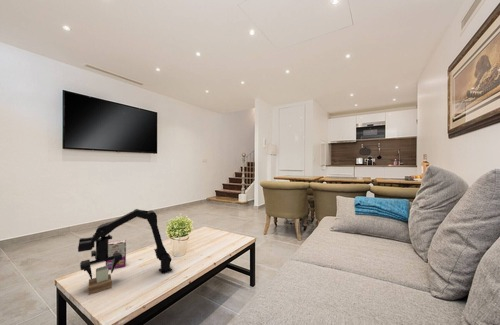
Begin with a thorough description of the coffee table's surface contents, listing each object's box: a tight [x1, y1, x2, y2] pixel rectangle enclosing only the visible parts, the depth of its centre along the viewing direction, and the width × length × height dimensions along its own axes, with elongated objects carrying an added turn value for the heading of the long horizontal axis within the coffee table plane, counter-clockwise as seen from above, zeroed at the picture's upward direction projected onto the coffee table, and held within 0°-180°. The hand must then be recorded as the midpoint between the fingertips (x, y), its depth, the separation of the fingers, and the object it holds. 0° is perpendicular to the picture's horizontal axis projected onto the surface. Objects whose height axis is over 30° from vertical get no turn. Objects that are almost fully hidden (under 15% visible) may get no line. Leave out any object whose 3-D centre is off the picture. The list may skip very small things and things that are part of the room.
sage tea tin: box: [95, 265, 109, 283], centre depth 115 cm, size 5×5×6 cm
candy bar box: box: [105, 239, 127, 271], centre depth 137 cm, size 11×5×16 cm, turn 117°
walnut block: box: [88, 273, 113, 296], centre depth 114 cm, size 10×10×4 cm
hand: (101, 275), depth 115 cm, fingers open, 9 cm apart
